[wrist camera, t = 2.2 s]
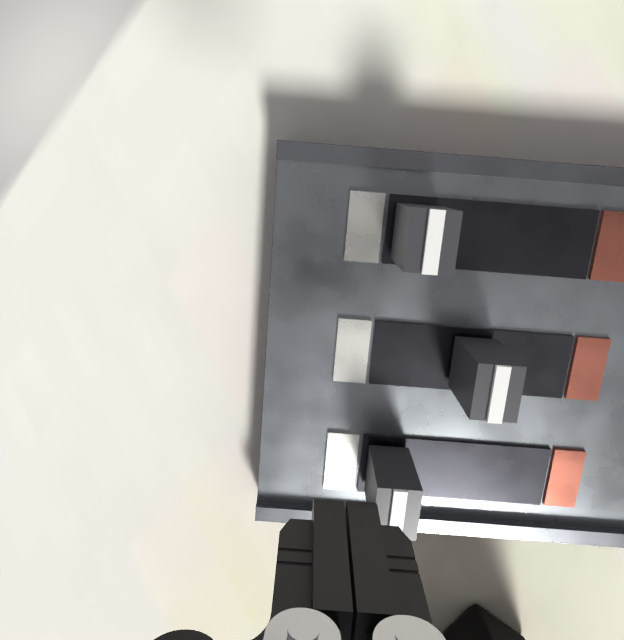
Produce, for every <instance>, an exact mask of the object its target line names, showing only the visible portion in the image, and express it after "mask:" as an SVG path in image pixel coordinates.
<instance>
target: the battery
mask: <svg viewBox="0 0 624 640" xmlns="http://www.w3.org/2000/svg"><path fill="white" fill-rule="evenodd" d="M443 636H444V637H445V639H446V640H525V639H524V637H523V636H521V635H520V634H519V633H517V632H516V631H514V630H513V629H512V628H510V627H509V626H507V625H506V624H504V623H503V622H502V621H500V620H499V619H497V618H496V617H495V616H493V615H492V614H490V613H489V612H487V611H486V610H485V609H483V608H482V607H480V606H479V605H473V606H471V607H470V608H469V609H468V610H467V611H466V612H464V613H463V614H462V615H461V616H460V617H459V618H458V619H457V620H456V621H455V622H454V623H453V624H452V625H451V626H450V627H449V628H448V629H447V630H446V631H445V632H444V633H443Z"/></svg>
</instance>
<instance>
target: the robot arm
mask: <svg viewBox="0 0 624 640" xmlns="http://www.w3.org/2000/svg"><path fill="white" fill-rule="evenodd" d="M154 640H213V639H212V638H211V637H209V636H208V635H206V634H204V633H202V632H199V631H195V630H176V631H172V632H168V633H166V634H163V635H161V636H159V637H158V638H156V639H154ZM252 640H446V639H445V637H444V636H443V634H442V633H441V632H440V631H439V630H438V629H437V628H436V627H434V626H433V625H432V621H431V617H430V614H429V610H428V606H427V602H426V598H425V594H424V590H423V586H422V582H421V578H420V575H419V574H418V567H417V563H416V561H415V555H414V551H413V547H412V543H411V541H410V539H409V538H408V537H407V536H406V535H405V533H404V532H403V531H402V530H401V529H400V528H399V526H388V525H381V522H380V517H379V511H378V506H377V503H374V502H361V501H347V500H346V503H345V507H344V500H332V499H318V498H314V499H313V507H312V519H311V520H305V519H291V518H290V519H289V521H288V522H287V523H286V524H285V526H284V527H283V528H282V530H281V531H280V535H279V545H278V554H277V564H276V574H275V583H274V593H273V602H272V612H271V617H270V620H269V623H268V625H267V626H266V628H265V629H264V630H263V631H262V632H261V634H259V635H258V636H257V637H256V638H254V639H252Z"/></svg>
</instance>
